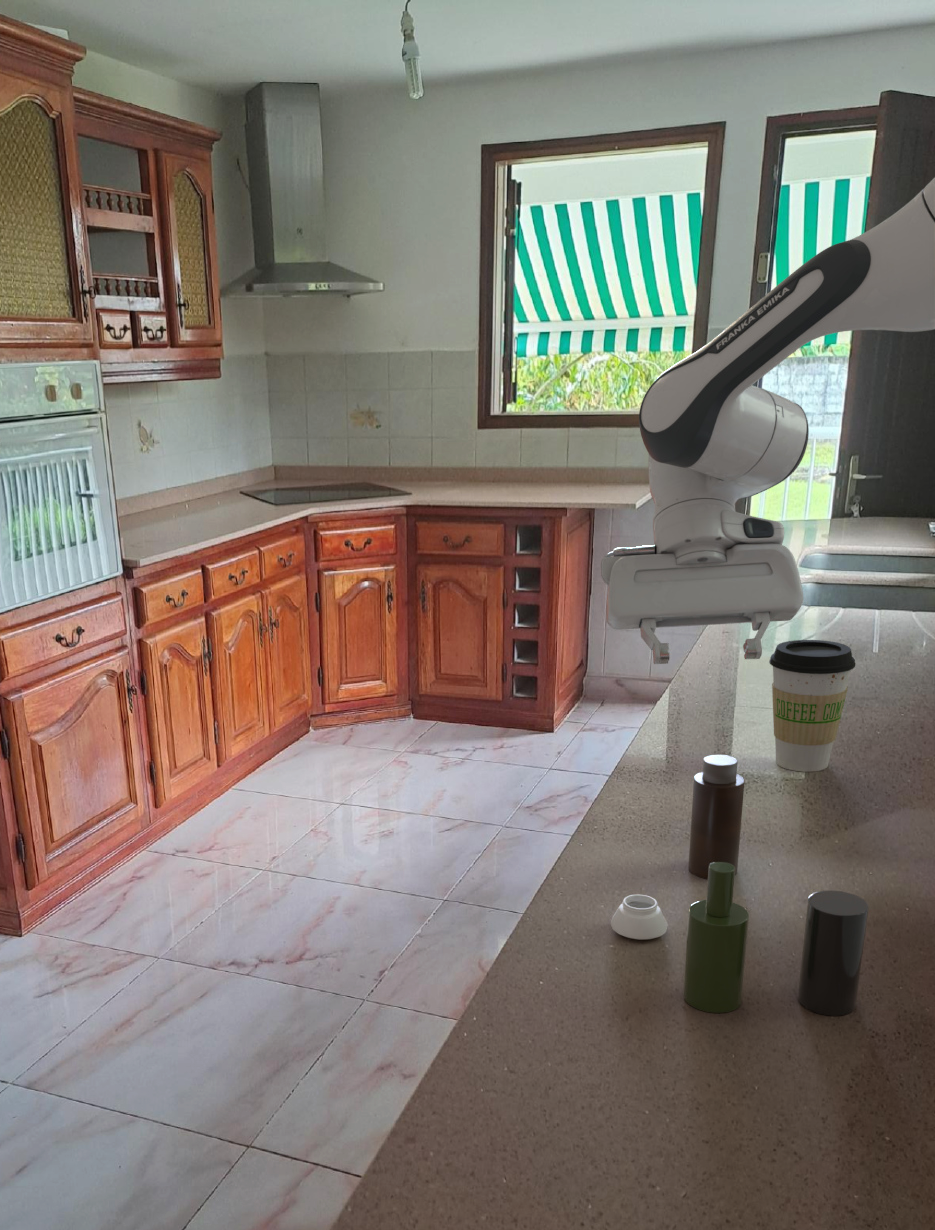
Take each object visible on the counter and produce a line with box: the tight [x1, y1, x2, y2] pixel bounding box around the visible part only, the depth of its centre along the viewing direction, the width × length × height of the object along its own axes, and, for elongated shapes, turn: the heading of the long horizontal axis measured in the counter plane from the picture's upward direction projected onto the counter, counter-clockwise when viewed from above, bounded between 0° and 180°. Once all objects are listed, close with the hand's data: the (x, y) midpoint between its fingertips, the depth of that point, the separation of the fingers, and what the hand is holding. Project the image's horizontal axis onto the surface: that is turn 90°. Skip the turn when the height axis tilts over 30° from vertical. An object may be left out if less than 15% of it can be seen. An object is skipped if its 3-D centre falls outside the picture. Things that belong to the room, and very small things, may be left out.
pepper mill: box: [687, 754, 745, 880], centre depth 113 cm, size 5×5×12 cm
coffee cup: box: [768, 639, 856, 773], centre depth 140 cm, size 10×10×15 cm
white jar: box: [610, 894, 669, 941], centre depth 104 cm, size 5×3×5 cm
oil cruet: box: [682, 862, 750, 1014], centre depth 91 cm, size 5×5×12 cm
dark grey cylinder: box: [797, 890, 870, 1017], centre depth 90 cm, size 4×4×9 cm
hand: (707, 659), depth 119 cm, fingers open, 8 cm apart
